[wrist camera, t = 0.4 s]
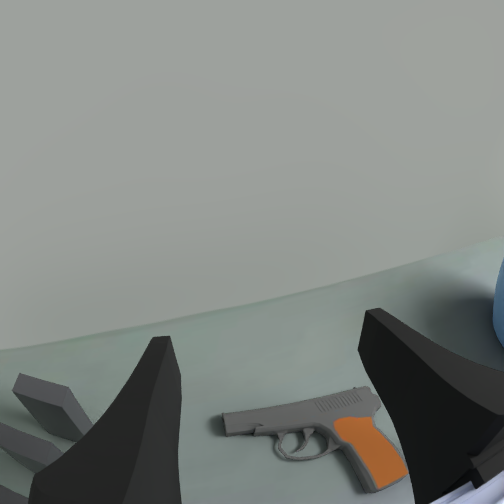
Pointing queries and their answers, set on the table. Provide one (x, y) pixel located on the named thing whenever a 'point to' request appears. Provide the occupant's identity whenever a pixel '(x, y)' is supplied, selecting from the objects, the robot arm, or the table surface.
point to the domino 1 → (11, 497)
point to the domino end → (53, 407)
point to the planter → (499, 306)
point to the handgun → (331, 432)
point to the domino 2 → (28, 448)
